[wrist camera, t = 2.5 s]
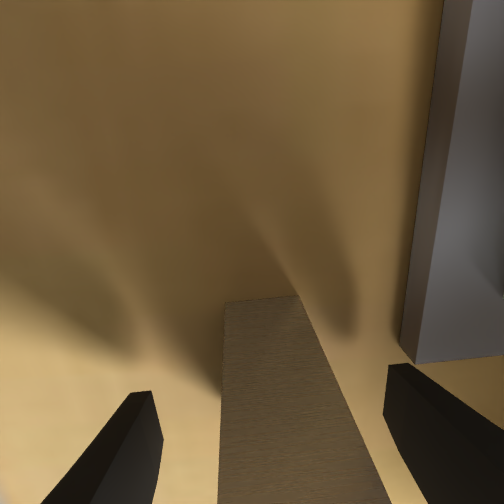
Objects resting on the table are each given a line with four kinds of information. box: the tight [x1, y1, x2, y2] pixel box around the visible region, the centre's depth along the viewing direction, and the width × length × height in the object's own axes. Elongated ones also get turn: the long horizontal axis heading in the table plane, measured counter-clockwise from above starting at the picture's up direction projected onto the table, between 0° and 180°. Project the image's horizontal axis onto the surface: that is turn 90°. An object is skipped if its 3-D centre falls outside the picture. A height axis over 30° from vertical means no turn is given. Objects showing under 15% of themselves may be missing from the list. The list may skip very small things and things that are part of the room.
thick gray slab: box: [217, 296, 392, 504], centre depth 7 cm, size 5×2×7 cm, turn 4°
